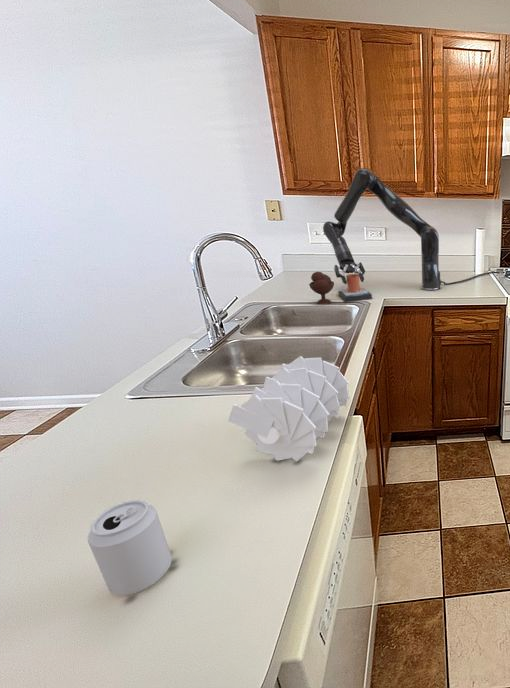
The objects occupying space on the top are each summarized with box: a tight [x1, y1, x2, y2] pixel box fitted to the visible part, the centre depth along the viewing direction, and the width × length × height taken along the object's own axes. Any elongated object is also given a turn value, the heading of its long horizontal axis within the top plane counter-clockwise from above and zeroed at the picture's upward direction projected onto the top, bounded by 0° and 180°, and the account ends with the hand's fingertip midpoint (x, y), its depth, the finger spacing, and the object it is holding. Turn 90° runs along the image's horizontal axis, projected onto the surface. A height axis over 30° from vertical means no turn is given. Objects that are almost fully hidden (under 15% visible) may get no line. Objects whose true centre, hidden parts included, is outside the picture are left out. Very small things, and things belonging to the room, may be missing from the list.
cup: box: [345, 273, 361, 293], centre depth 198 cm, size 6×6×8 cm
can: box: [87, 499, 173, 597], centre depth 58 cm, size 8×8×12 cm
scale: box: [337, 287, 373, 303], centre depth 199 cm, size 13×13×3 cm
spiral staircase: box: [227, 355, 350, 462], centre depth 90 cm, size 18×18×25 cm
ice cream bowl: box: [308, 271, 335, 305], centre depth 188 cm, size 11×11×15 cm
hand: (354, 282), depth 197 cm, fingers open, 8 cm apart
